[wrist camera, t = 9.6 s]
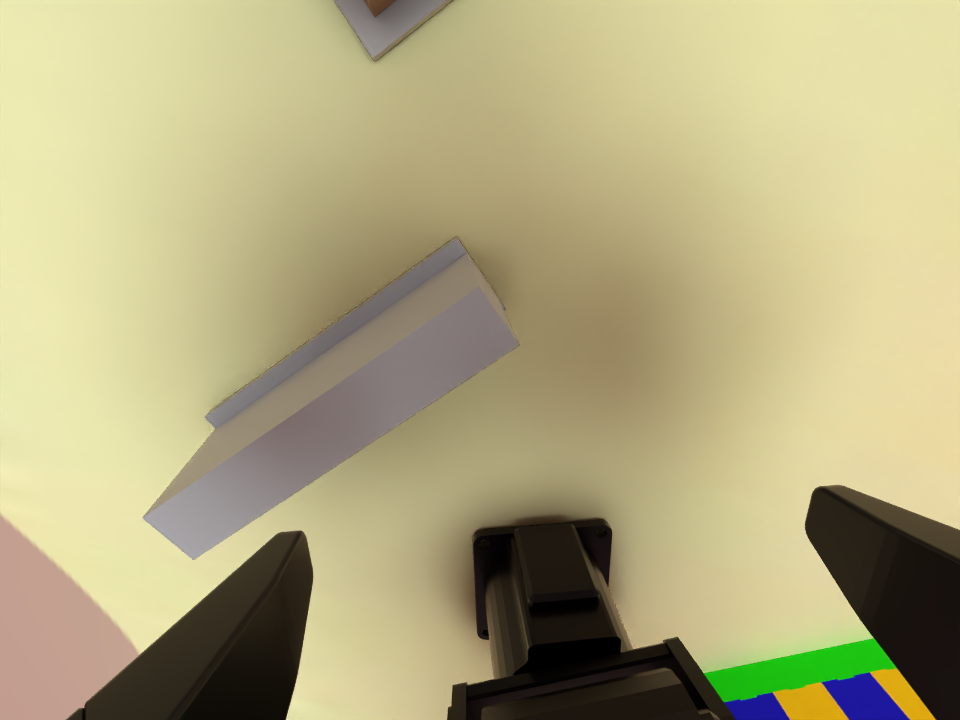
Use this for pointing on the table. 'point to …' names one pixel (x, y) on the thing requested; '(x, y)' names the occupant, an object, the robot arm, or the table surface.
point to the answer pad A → (388, 21)
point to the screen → (336, 397)
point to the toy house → (821, 687)
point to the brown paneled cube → (378, 5)
